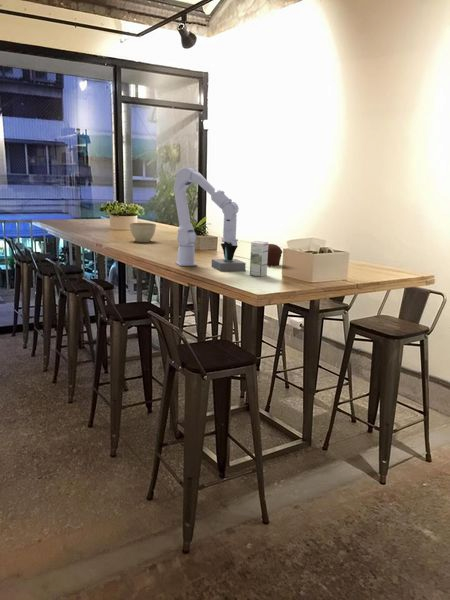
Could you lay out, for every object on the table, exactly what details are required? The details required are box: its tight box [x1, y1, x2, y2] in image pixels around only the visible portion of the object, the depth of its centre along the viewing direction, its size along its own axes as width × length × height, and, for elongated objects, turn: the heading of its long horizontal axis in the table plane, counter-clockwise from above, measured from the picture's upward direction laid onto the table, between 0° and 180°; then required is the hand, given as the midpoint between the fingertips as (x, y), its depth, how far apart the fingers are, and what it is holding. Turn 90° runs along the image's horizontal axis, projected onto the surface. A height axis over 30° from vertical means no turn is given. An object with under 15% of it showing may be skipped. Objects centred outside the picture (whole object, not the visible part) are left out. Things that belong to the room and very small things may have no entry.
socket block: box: [210, 258, 246, 272], centre depth 238 cm, size 12×12×4 cm
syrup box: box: [249, 240, 269, 278], centre depth 223 cm, size 6×6×14 cm
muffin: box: [267, 243, 283, 267], centre depth 253 cm, size 12×11×10 cm
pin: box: [224, 247, 232, 262], centre depth 237 cm, size 3×3×8 cm
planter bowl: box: [129, 222, 157, 243], centre depth 324 cm, size 16×16×11 cm
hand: (228, 259), depth 237 cm, fingers closed on pin, 3 cm apart
